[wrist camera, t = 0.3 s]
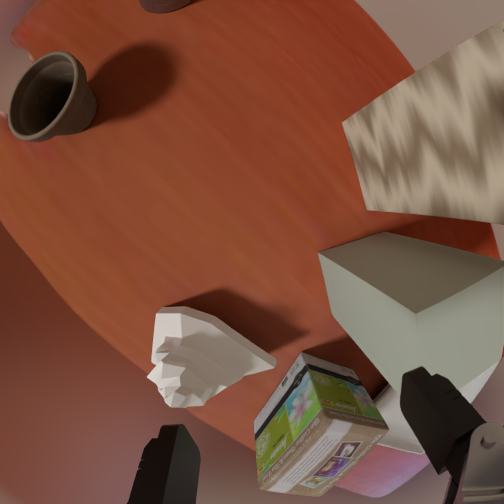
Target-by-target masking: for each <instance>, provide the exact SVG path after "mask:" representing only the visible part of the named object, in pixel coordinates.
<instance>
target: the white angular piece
mask: <svg viewBox="0 0 504 504" xmlns="http://www.w3.org/2000/svg"><path fill="white" fill-rule="evenodd" d="M151 362H152V363H154V364H155V365H156V367H155V368H154V369H153V370H152V371H151V373H150V374H149V375H148V376H147V378H149V379H150V380H151V381H153V382H154V383H156V385H157V386H158V391H159V392H160V393H161V395H162V396H163V397H164V400H165V402H166V403H167V404H168V405H169V406H170V407H180V408H186V407H187V406H204V404H205V403H206V401H207V400H208V399H210V398H211V397H213V396H214V395H216V394H217V393H219V392H220V391H222V390H223V389H225V388H226V387H228V386H230V385H232V384H234V383H236V382H238V381H240V380H241V379H242V377H243V376H245V375H250V374H254V373H258V372H261V371H265V370H269V369H273V368H275V365H276V358H274V357H273V356H271V355H270V354H268V353H267V352H265V351H264V350H262V349H261V348H259V347H258V346H256V345H255V344H253V343H252V342H251V341H249V340H248V339H246V338H245V337H243V336H242V335H241V334H239V333H238V332H236V331H235V330H233V329H232V328H231V327H229V326H228V325H227V324H225V323H224V322H222V321H221V320H220V319H218V318H217V317H216V316H213V315H210V314H207V313H204V312H201V311H198V310H195V309H192V308H189V307H187V306H182V307H162V308H161V309H160V310H159V311H158V312H157V313H156V320H155V329H154V338H153V348H152V360H151Z"/></svg>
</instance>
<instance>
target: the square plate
mask: <svg viewBox="0 0 504 504" xmlns="http://www.w3.org/2000/svg"><path fill="white" fill-rule="evenodd" d="M499 361H500V360H499ZM499 361H497V362H496V363H495V364H494V365H492V366H491V367H490V368H488V369H487V370H486V371H484V372H483V373H482V374H480V375H479V376H477V377H476V378H475V379H473V380H472V381H470V382H469V383H467V384H466V385H464V386H463V387H461V388H460V389H458V390H459V391H460V393H461V394H462V396H464V397H465V398H466V399H467V401H468V402H469V403H470V404H471V402H472V401H473V400H474V398H475V397H476V396H477V394H478V393H479V392H480V390H481V389H482V387H483V386H484V385H485V383H486V382H487V380H488V379H489V377H490V376H491V374H492V373H493V371H494V369H495V368H496V366H497V365H498V363H499ZM373 402H374V404H375V406H376V407H377V409H378V410H379V412H380V414H381V415H382V417H383V419H384V420H385V422H386V424H387V426H388V427H389V431H388V432H387V433H386V434H385V436H384V437H383V438H382V439H381V440H380V441H379V442H378V443H377V444H379V445H383V446H387V447H391V448H395V449H399V450H403V451H407V452H411V453H416V454H424V453H425V451H424V449H423V448H422V446H421V444H420V443H419V441H418V439H417V438H416V436H415V434H414V432H413V431H412V429H411V428H410V426H409V424H408V423H407V421H406V419H405V418H404V416H403V414H402V412H401V408H400V396H399V395H398V394H397V392H396V391H395V390H394V389H393V387H392V386H391V385H390V384H388V385H387V386H386V387H385V388H384V389H383V390H382V391H381V392H380V394H379V395H378V396H377V397H376V398H375V399H374V400H373Z"/></svg>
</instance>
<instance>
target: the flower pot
mask: <svg viewBox="0 0 504 504" xmlns="http://www.w3.org/2000/svg"><path fill="white" fill-rule="evenodd" d="M96 107H97V103H96V99H95V97H94V94H93V92H92V90H91V89H90V87H89V85H88V83H87V77H86V72H85V69H84V67H83V65H82V64H81V63H80V62H79V61H78V60H77V59H76V58H75V57H74V56H73V55H71V54H70V53H68V52H64V51H55V52H51V53H48V54H46V55H44V56H42V57H41V58H39V59H38V60H36V61H35V62H34V63H33V64H32V65H31V66H30V67H29V68H28V69H27V70H26V71H25V72H24V74H23V75H22V76H21V78H20V80H19V81H18V83H17V85H16V87H15V89H14V91H13V93H12V96H11V99H10V103H9V110H8V122H9V126H10V129H11V131H12V133H13V134H14V135H15V136H16V137H17V138H18V139H20V140H24V141H30V142H43V141H46V140H49V139H51V138H53V137H54V136H60V135H71V134H76V133H79V132H81V131H83V130H84V129H85V128H86V127H87V126H88V125H89V124H90V123H91V121H92V120H93V118H94V116H95V113H96Z"/></svg>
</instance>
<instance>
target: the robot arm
mask: <svg viewBox="0 0 504 504" xmlns="http://www.w3.org/2000/svg"><path fill="white" fill-rule="evenodd" d="M191 1H192V0H139V2H140V4H141V6H142V7H143V8H144V9H145V10H147V11H149V12H153V13H165V12H170V11H174V10H177V9H179V8H181V7H183V6H185V5H187V4H188V3H190V2H191ZM400 408H401V412H402V414H403V416H404V418H405V419H406V421H407V423H408V424H409V426H410V428H411V429H412V431H413V432H414V434H415V436H416V438H417V439H418V441H419V443H420V444H421V446H422V448H423V449H424V451H425V453H426V455H427V456H428V458H429V460H430V461H431V463H432V465H433V467H434V468H435V470H436V472H437V473H438V475H439V474H441V473H443V472H445V471H447V470H448V471H449V473H450V475H451V476H450V478H449V482H448V486H447V490H446V493H445V496H444V500H443V503H442V504H504V426H502V425H500V424H498V423H494V422H489V423H487V422H486V421H485V420H484V419H483V418H482V417H481V416H480V415H479V413H478V412H477V411H476V410H475V409H474V408H473V406H472V405H471V404H470V403H469V402H468V401H467V399H466V398H465V397H464V396H462V394H461V393H460V391H459V390H458V389H456V387H455V386H454V385H453V384H452V382H451V381H450V380H449V379H448V378H446V377H444V376H441V375H439V374H434V375H432V376H431V374H430V373H429V372H428V371H427V370H426V369H425V368H424V367H423V366H420V367H418V368H416V369H413V370H411V371H408V372H406V373H404V374H403V376H402V384H401V394H400ZM138 468H139V470H137V473H136V477H135V480H134V483H133V487H132V491H131V494H130V498H129V501H128V503H127V504H196V495H197V487H198V477H199V469H200V452H199V449H198V447H197V445H196V444H195V442H194V440H193V439H192V437H191V436H190V434H189V432H188V431H187V429H186V427H185V426H184V425H183V424H174V425H163V426H162V427H161V429H160V432H159V436H158V438H155V439H154V438H152V439H151V440H150V442H149V443H148V444H147V445H146V447H145V448H144V450H143V454H142V457H141V461H140V463H139V467H138Z"/></svg>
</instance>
